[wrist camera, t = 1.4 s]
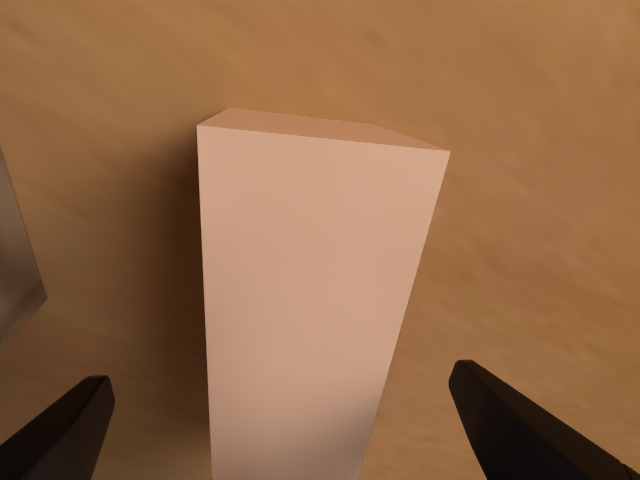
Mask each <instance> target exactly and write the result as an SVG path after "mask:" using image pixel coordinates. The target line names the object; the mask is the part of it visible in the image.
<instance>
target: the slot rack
mask: <svg viewBox="0 0 640 480" xmlns="http://www.w3.org/2000/svg"><path fill="white" fill-rule="evenodd" d="M46 300H47V297H46V294H45V291H44V288H43V284H42V281H41V278H40V275H39V272H38V268H37V265H36V262H35V259H34V255H33V252H32V249H31V246H30V243H29V239H28V236H27V233H26V230H25V226H24V223H23V220H22V217H21V213H20V210H19V207H18V204H17V201H16V197H15V194H14V191H13V188H12V184H11V181H10V178H9V175H8V172H7V168H6V165H5V162H4V159H3V155H2V152H1V149H0V344H1V343H2V342H3V341H4V340H5V339H6V338H7V337H8V336H9V335H10V334H11V333H12V332H14V331H15V330H16V329H17V328H18V327H19V326H20V325H21V324H22V323H23V322H24V321H25V320H26V319H27V318H28V317H29V316H30V315H31V314H32V313H33V312H34V311H35V310H36V309H37V308H38V307H39V306H40V305H41V304H43V303H44V302H45V301H46Z"/></svg>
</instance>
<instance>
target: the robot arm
mask: <svg viewBox="0 0 640 480" xmlns="http://www.w3.org/2000/svg"><path fill="white" fill-rule="evenodd" d="M449 389H450V392H451V395H452V397H453V400H454V403H455V405H456V408H457V411H458V413H459V416H460V419H461V421H462V424H463V427H464V429H465V432H466V434H467V437H468V439H469V442H470V444H471V447H472V449H473V451H474V453H475V455H476V457H477V459H478V462H479V464H480V466H481V468H482V470H483V472H484V474H485V476H486V478H487V480H640V474H639V473H637V472H636V471H634V470H633V469H631V468H630V467H628V466H627V465H625V464H622V463H621V462H620V461H619V460H618V459H617V458H615V457H614V456H612V455H611V454H609V453H608V452H606V451H605V450H603V449H602V448H600V447H599V446H597V445H596V444H595V443H593V442H592V441H590V440H589V439H587V438H586V437H584V436H583V435H581V434H580V433H578V432H577V431H575V430H574V429H573V428H571V427H570V426H568V425H567V424H565V423H564V422H562V421H561V420H559V419H558V418H556V417H555V416H553V415H552V414H551V413H549V412H548V411H546V410H545V409H543V408H542V407H540V406H539V405H537V404H536V403H534V402H533V401H532V400H530V399H529V398H527V397H526V396H524V395H523V394H521V393H520V392H518V391H517V390H515V389H514V388H512V387H511V386H510V385H508V384H507V383H505V382H504V381H502V380H501V379H499V378H498V377H496V376H495V375H493V374H492V373H490V372H489V371H488V370H486V369H485V368H483V367H482V366H480V365H479V364H477V363H476V362H474V361H472V360H458V361H457V362H456V363H455V365H454V368H453V370H452V373H451V375H450V378H449ZM114 405H115V398H114V394H113V390H112V385H111V381H110V378H109V377H108V376H107V375H97V376H88V377H86V378H85V379H83V380H82V381H81V382H79V383H78V384H77V385H76V386H74V387H73V388H72V389H71V390H69V391H68V392H67V393H66V394H64V395H63V396H62V397H61V398H59V399H58V400H57V401H56V402H54V403H53V404H52V405H51V406H49V407H48V408H47V409H45V410H44V411H43V412H42V413H40V414H39V415H38V416H37V417H35V418H34V419H33V420H32V421H30V422H29V423H28V424H27V425H25V426H24V427H23V428H22V429H20V430H19V431H18V432H16V433H15V434H14V435H13V436H11V437H10V438H9V439H8V440H6V441H5V442H4V443H3V444H1V445H0V480H91V478H92V475H93V472H94V469H95V466H96V463H97V460H98V457H99V453H100V450H101V447H102V444H103V441H104V438H105V435H106V432H107V429H108V425H109V422H110V419H111V416H112V413H113V410H114Z"/></svg>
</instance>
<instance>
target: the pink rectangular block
mask: <svg viewBox="0 0 640 480" xmlns="http://www.w3.org/2000/svg"><path fill="white" fill-rule="evenodd" d="M197 144H198V167H199V190H200V212H201V235H202V258H203V281H204V304H205V326H206V349H207V372H208V395H209V418H210V440H211V463H212V480H358V476H359V473H360V469H361V466H362V462H363V459H364V455H365V452H366V448H367V445H368V441H369V437H370V434H371V430H372V427H373V423H374V420H375V416H376V413H377V409H378V406H379V402H380V399H381V395H382V392H383V388H384V385H385V381H386V378H387V374H388V370H389V367H390V363H391V360H392V356H393V353H394V349H395V346H396V342H397V339H398V335H399V332H400V328H401V325H402V321H403V318H404V314H405V311H406V307H407V304H408V300H409V296H410V293H411V289H412V286H413V282H414V279H415V275H416V272H417V268H418V265H419V261H420V258H421V254H422V251H423V247H424V244H425V240H426V237H427V233H428V230H429V226H430V222H431V219H432V215H433V212H434V208H435V205H436V201H437V198H438V194H439V191H440V187H441V184H442V180H443V177H444V173H445V170H446V166H447V163H448V159H449V156H450V152H451V151H448V150H445V149H442V148H439V147H437V146H434V145H431V144H428V143H425V142H422V141H419V140H417V139H414V138H411V137H408V136H405V135H402V134H399V133H397V132H394V131H391V130H388V129H385V128H382V127H379V126H377V125H374V124H365V123H357V122H348V121H339V120H331V119H322V118H313V117H304V116H296V115H287V114H278V113H270V112H261V111H252V110H243V109H235V108H228V109H226V110H224V111H222V112H220V113H218V114H217V115H215V116H213V117H211V118H209V119H207V120H205V121H204V122H202V123H200V124H198V125H197Z"/></svg>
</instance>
